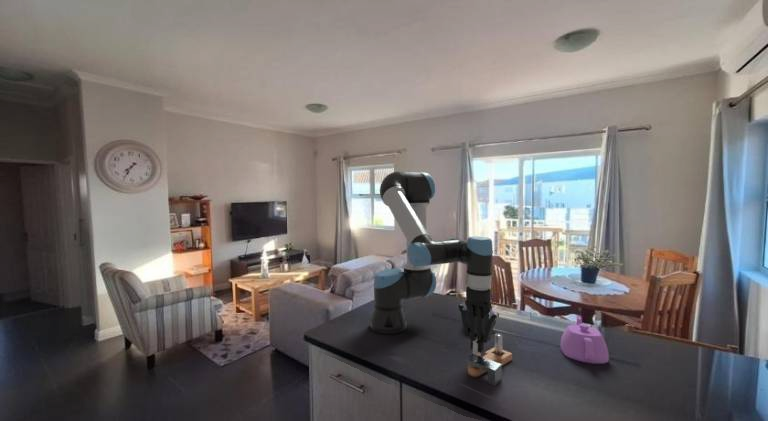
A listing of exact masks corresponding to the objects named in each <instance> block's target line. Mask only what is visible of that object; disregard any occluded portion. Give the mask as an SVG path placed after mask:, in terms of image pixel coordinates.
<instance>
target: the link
mask: <svg viewBox="0 0 768 421" xmlns="http://www.w3.org/2000/svg"><path fill="white" fill-rule="evenodd" d="M482 357H483V358H486V359H489V360H492V361H494V362H497V363H500V364H502V366H504V365H505V364H507V363H509V362H511V361H512V360H513V353H512V352H510V351H507V350H504V349H502V356H498V355H496V354H495V346H494V347H492V348H490V349H489V350H486V351H485V352H484V355H483V356H482ZM485 373H488V372H487V371H484V370H482V369H479V368H477V367H474V366H472V365H469V364H467V374H468V375H469V376H470V377H475V378H476V377H477V378H478V377H480V376H481V375H483V374H485Z"/></svg>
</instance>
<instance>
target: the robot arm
mask: <svg viewBox="0 0 768 421" xmlns="http://www.w3.org/2000/svg"><path fill="white" fill-rule="evenodd" d="M435 184H436V183H435V181H434V178H433V177H432V175H431V174H429V173H428V172H424V171H423V172H422V171H393V172H391V173H388V174H387V175H386V176H385V177H384V178H383V180H382V181H381V183H380V185H379V186H380V187H379V195H380V199H381V200H382V203H383V204H384V205H385V206H387V207H388V208H389V210H390V212H391V213H392V215H393V217H394V219H395V221H396V223H397V224H398V227H399V228H400V230H401V232H402V233H403V235H404V237H405V239H406V263H405V264H404V265H403V271H402V270H401V269H399V268H387V269H382V270H380V271H378V272H377V273H375V274H374V276H373V278H374V279H373V299H374V300H373V303H374V304H373V305H374V306H373V307H374V309H373V312H372V316H371V318H370V325H369V326H370V329H371V330H372V331H373V332H375V333H378V334H382V335H393V334H394V335H395V334H398V333H401V332H404V331H405V330H406V329H407V326H408V325H407V319H406V317H405V314H404V310H403V301H409V300H414V299H415V300H416V299H422V298H423V299H424V298H425V297H430V296H432V294H434V292H435V290H436V286H437V278H436V277H437V276H436V274H435V271H434V270H433V269H432V268H431V266H436V265H443V264H445V265H446V264H452V263H455V264H456V263H461V264H464V265H466V278H465V280H466V282H465V284H466V287H465V298H466V299H465V300H464V302H463V303H461V304H458V309H459V312H460V315H461V319H462V325H463V332H464V336H465V337H467V338H469V339H470V350H472V354H475V355H478V356H481V357H482V353H483V352H484V348H485V346H484V344H486V343H488V342H490V340H491V337H492V334H493V330H494V327H495V325H496V323H495V321H496V322H497V319H498V318H499V317H500V314H499V312H495V311H494V310H493V306H492V304H491V301H492V280H493V278H492V275H493V273H492V272H493V271H492V270H493V254H494V250H493V240H492V239H491V238H489V237H485V236H469V237H468V238H467V240H465V239H461V238H458V237H456V238H455V237H449V238H447V239H446V240H433V238H432V237H431V235H430V234H429V232H428V231H427V207H428V206H429V205H430V202H431V201H430V200H432V199H433V198H434V196H435V193H436V185H435ZM467 309H468V310H469V312H470V319H469V313H468V310H467ZM488 313H489V321H488V324H487V327H486V331H485V319H486V316H487V314H488ZM494 324H495V325H494ZM477 328H478V332H477Z"/></svg>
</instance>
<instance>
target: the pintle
mask: <svg viewBox="0 0 768 421" xmlns="http://www.w3.org/2000/svg"><path fill="white" fill-rule="evenodd" d="M494 347H495V354H496V355H498V356H502V350H503V335H502V333H495V334H494Z"/></svg>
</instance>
